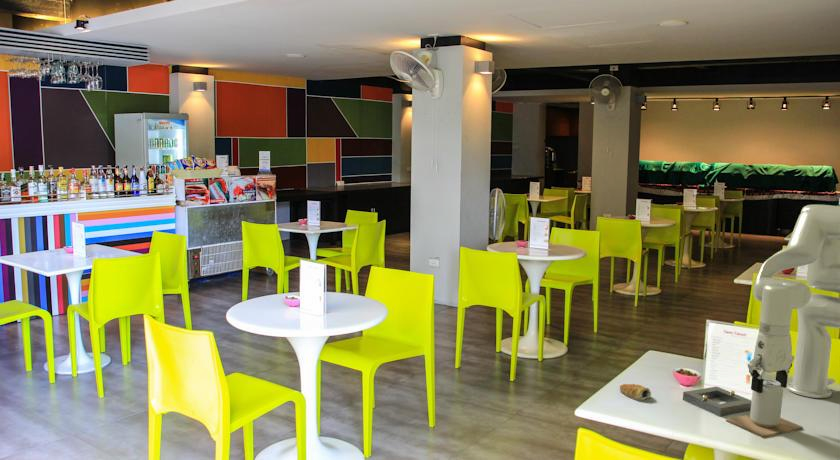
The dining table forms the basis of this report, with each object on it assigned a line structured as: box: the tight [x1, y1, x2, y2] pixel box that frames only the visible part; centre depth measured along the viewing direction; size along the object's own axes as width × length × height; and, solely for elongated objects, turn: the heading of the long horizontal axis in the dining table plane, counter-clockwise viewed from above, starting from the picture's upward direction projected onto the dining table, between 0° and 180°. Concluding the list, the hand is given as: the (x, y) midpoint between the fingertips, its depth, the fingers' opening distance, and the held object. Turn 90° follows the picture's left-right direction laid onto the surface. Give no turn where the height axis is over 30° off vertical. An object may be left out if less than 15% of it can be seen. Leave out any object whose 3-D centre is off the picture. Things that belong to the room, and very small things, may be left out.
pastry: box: [619, 383, 652, 402], centre depth 221 cm, size 9×7×4 cm
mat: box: [725, 414, 804, 439], centre depth 201 cm, size 16×12×1 cm
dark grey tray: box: [682, 386, 752, 418], centre depth 215 cm, size 14×14×4 cm
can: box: [749, 377, 784, 427], centre depth 200 cm, size 8×8×12 cm
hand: (768, 388), depth 200 cm, fingers open, 9 cm apart
